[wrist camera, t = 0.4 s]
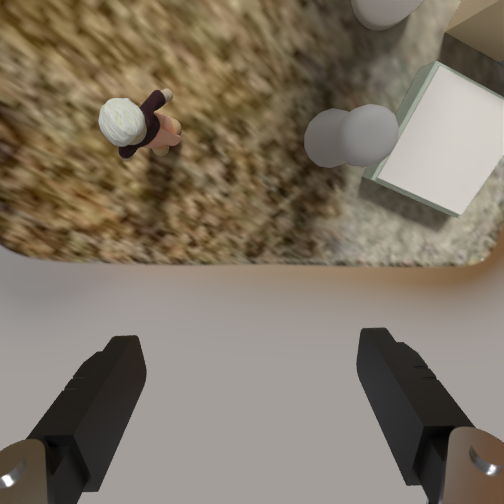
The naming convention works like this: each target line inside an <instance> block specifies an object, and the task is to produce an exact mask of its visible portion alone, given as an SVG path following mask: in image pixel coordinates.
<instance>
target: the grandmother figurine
mask: <svg viewBox="0 0 504 504" xmlns="http://www.w3.org/2000/svg"><path fill="white" fill-rule="evenodd" d="M172 99H173V94H172V92H171V91H170V90H169V89H164V90H161V91H160V90H155V91H154V92H152V94H151V95H150V96H149V97H148V99H147V100H146V101H145V102H144V103H143V104H142V105H141V107H138V106H136V105H135V104H133V103H132V102H130V100H129V98H125V99H120V98H114V99H110V100H108V101H107V102H106V104H105V105H103V106H102V108H101V110H100V117H99V125H100V128H101V131H102V133H103V134H104V135H105V136H106V138H107V139H108V140H109V141H110V142H111V143H113V144H114V145H116V146H119V155H120V156H121V157H122V159H123V160H124V161H131V160H132V158H133V154H134V153H135V152H136V150H137V149H138V148H140V147H147V148H152V150H153V152H154V153H155V154H156V155H157V156H164V155H166V154H167V153H168V151H169V146H175V145H177V144H178V143H179V142H180V140H181V136H179V134H180V133H181V125H180V123H179V122H178V121H177V120H175V119H173V118H171V117H169V116H168V115H165V114H162V113H154V111H156V110H158V109H159V108H161V107H162V106H163V105H164V104H165V103H167V102H170V101H171V100H172Z"/></svg>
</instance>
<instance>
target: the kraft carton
mask: <svg viewBox="0 0 504 504" xmlns="http://www.w3.org/2000/svg"><path fill="white" fill-rule="evenodd" d="M445 33H447V34H449V35H451V36H452V37H454V38H456V39H458V40H459V41H461V42H463V43H465V44H467V45H468V46H470V47H472V48H474V49H476V50H477V51H479V52H481V53H483V54H485V55H486V56H488V57H490V58H492V59H494V60H495V61H497V62H498V63H499V64H501V65H503V66H504V0H462V1H461V3H460V5H459V7H458V8H457V10H456V12H455V14H454V16H453V18H452V20H451V21H450V23H449V25H448V27H447V29H446V31H445Z"/></svg>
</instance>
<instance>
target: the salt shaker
mask: <svg viewBox="0 0 504 504" xmlns="http://www.w3.org/2000/svg"><path fill="white" fill-rule="evenodd" d="M398 133H399V126H398V123H397V120H396V117H395V115H394V114H393V113H392V112H391V111H390V110H389V109H388V108H386V107H384V106H379V105H374V104H367V105H364V106H361V107H358V108H355V109H353V110H352V111H351V112H348V111H345V110H340V109H334V108H332V109H329V110H326V111H323V112H320V113H319V114H318V115H317V116H316V117H315V118H314V119H313V120H312V121H310V123H309V125H308V127H307V130H306V132H305V134H304V148H305V150H306V152H307V154H308V156H309V158H310V159H311V160H312V161H313V162H314V163H316V164H317V165H318V166H321V167H327V168H332V167H336V166H339V165H343V164H345V163H348V164H350V165H352V166H359V167H367V166H371V165H374V164H378V163H380V162H382V161H383V160H384V159H385V158H386V157H388V156H389V155H390V154H391V152H392V150H393V149H394V147H395V145H396V143H397V142H398Z"/></svg>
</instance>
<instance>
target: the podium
mask: <svg viewBox="0 0 504 504" xmlns="http://www.w3.org/2000/svg"><path fill="white" fill-rule="evenodd" d="M395 117H396V120H397V123H398V126H399V133H398V142H397V143H396V145H395V147H394V149H393V150H392V152H391V154H390V155H389V156H388V157H386V158H385V159H384V160H383V161H382V162H380V163H378V164H374V165H371V166H368V167H367V169H366V171H365V172H364V174H363V176H362V177H364V178H366V179H368V180H371V181H373V182H375V183H377V184H380V185H382V186H384V187H386V188H389V189H391V190H393V191H395V192H398V193H400V194H402V195H404V196H407V197H409V198H411V199H413V200H416V201H418V202H420V203H422V204H424V205H427V206H429V207H431V208H433V209H436V210H438V211H440V212H442V213H445V214H447V215H450V216H453V217H456V218H459V219H460V217H461V216H462V214H463V213H464V212H465V210H466V209H467V207H468V206H469V204H470V203H471V202H472V200H473V199H474V197H475V196H476V194H477V193H478V191H479V190H480V189H481V187H482V186H483V184H484V183H485V181H486V180H487V179H488V177H489V176H490V174H491V173H492V171H493V170H494V169H495V167H496V166H497V164H498V163H499V161H500V160H501V159H502V157H503V156H504V97H503V96H501V95H499V94H497V93H495V92H494V91H492V90H490V89H488V88H486V87H484V86H483V85H481V84H479V83H477V82H475V81H473V80H471V79H470V78H468V77H466V76H464V75H462V74H460V73H459V72H457V71H455V70H453V69H451V68H449V67H447V66H446V65H444V64H442V63H440V62H438V61H434V62H432V63H430V64H427V65H425V66H423V67H421V68H420V70H419V72H418V73H417V75H416V77H415V79H414V81H413V83H412V85H411V86H410V88H409V90H408V92H407V94H406V96H405V98H404V100H403V101H402V103H401V105H400V107H399V109H398V111H397V113H396V114H395Z"/></svg>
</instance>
